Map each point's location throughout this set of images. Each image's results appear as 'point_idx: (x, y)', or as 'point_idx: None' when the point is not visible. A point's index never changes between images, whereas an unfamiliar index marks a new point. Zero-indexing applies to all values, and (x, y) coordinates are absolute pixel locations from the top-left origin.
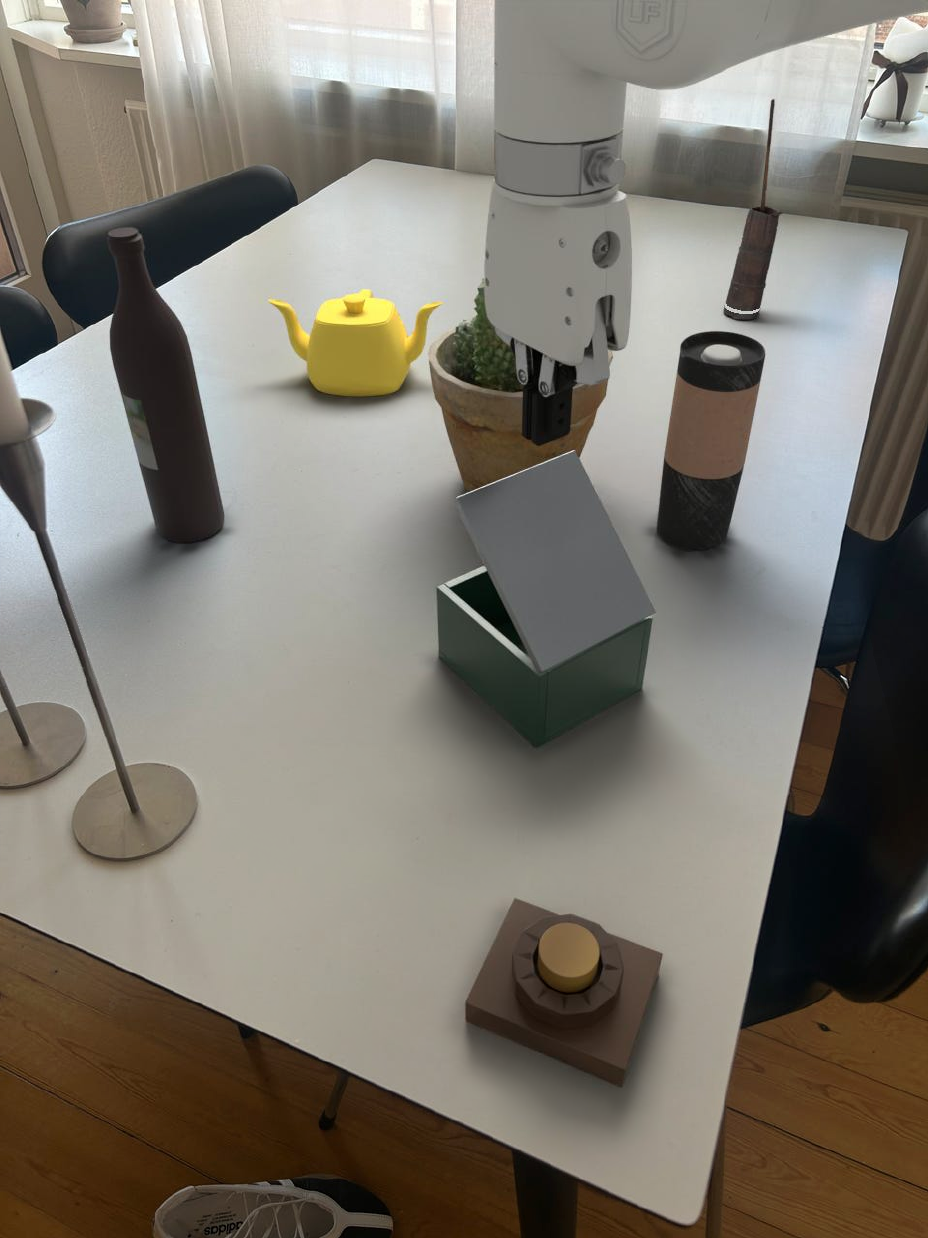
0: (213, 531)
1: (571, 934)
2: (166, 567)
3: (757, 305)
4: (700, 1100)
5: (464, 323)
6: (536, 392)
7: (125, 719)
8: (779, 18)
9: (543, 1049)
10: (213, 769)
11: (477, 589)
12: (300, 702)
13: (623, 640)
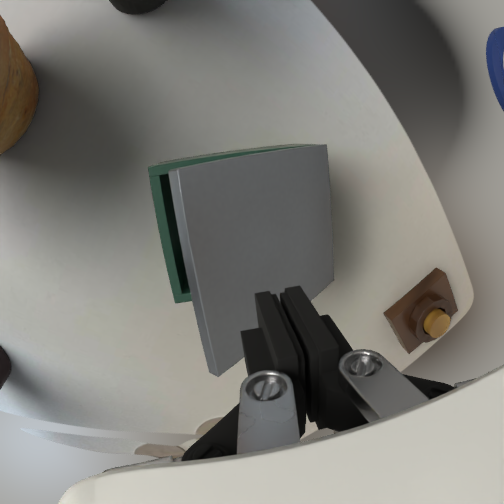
0: (3, 352)
1: (437, 323)
2: (32, 383)
3: None
4: (466, 281)
5: None
6: (322, 423)
7: (160, 430)
8: None
9: None
10: (217, 409)
11: (176, 256)
12: (184, 364)
13: None
